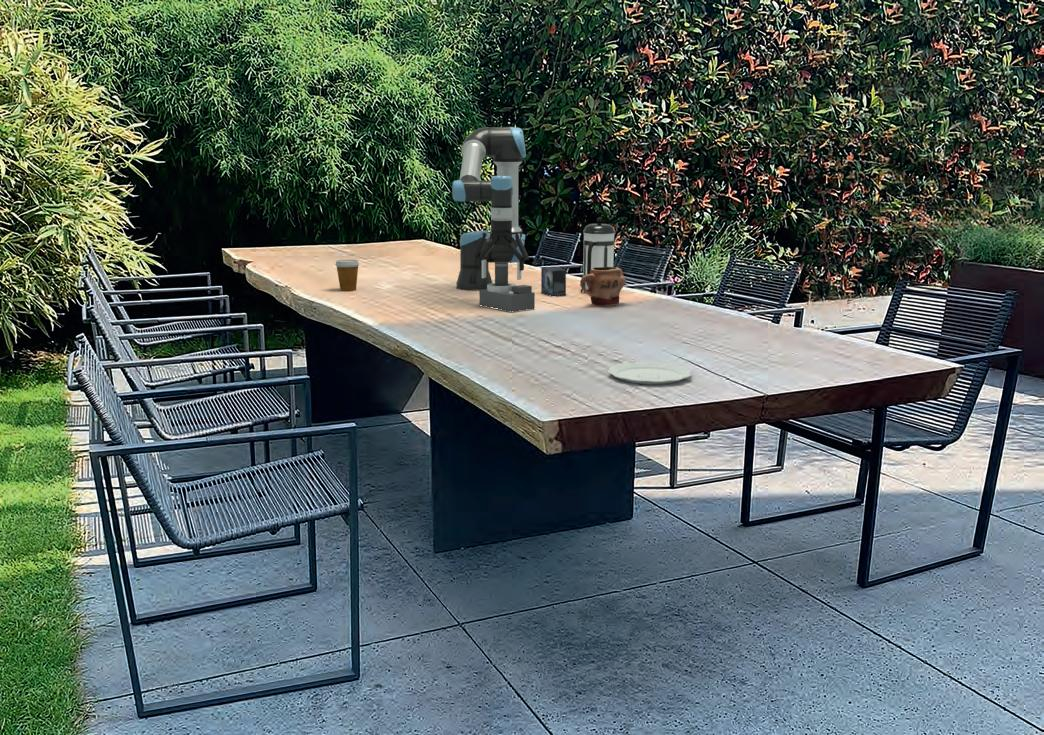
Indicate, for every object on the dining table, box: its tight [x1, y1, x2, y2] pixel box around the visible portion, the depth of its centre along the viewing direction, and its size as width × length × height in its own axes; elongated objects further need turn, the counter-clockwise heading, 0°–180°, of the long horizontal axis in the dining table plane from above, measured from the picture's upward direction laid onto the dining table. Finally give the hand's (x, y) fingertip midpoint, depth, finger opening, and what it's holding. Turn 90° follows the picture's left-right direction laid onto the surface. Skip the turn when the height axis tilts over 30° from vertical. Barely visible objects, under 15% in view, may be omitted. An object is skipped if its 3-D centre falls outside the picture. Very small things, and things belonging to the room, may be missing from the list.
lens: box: [494, 262, 509, 286], centre depth 342 cm, size 5×5×10 cm
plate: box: [607, 361, 692, 385], centre depth 239 cm, size 21×21×2 cm
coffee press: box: [580, 216, 616, 294], centre depth 376 cm, size 17×16×30 cm
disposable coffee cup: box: [335, 259, 360, 292], centre depth 381 cm, size 10×10×12 cm
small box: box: [540, 266, 567, 297], centre depth 373 cm, size 11×6×10 cm, turn 25°
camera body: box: [478, 282, 536, 313], centre depth 341 cm, size 18×11×8 cm, turn 41°
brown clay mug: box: [579, 266, 627, 307], centre depth 347 cm, size 20×12×14 cm, turn 128°
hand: (501, 278), depth 342 cm, fingers open, 13 cm apart
